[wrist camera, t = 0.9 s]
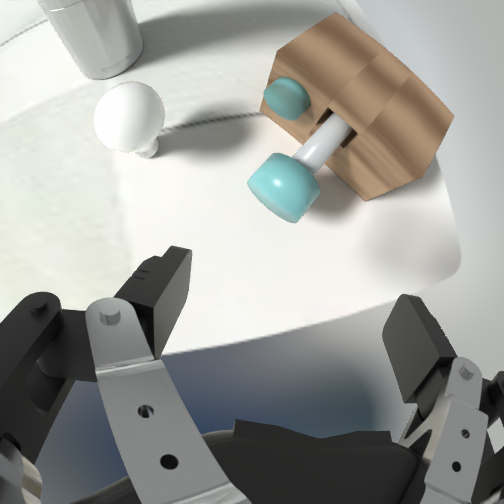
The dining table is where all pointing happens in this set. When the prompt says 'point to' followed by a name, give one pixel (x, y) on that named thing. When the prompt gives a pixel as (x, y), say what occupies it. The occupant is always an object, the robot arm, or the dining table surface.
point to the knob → (297, 172)
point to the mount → (357, 105)
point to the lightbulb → (130, 119)
